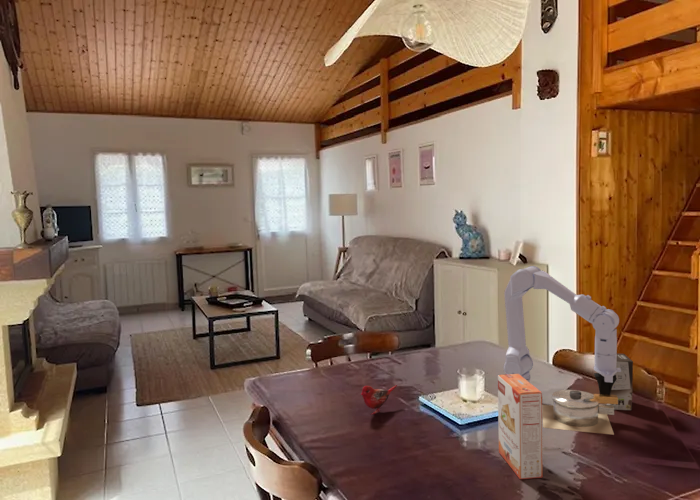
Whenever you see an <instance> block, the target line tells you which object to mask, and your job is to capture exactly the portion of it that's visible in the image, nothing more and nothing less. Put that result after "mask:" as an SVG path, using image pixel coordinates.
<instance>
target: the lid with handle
mask: <svg viewBox="0 0 700 500" xmlns="http://www.w3.org/2000/svg"><path fill="white" fill-rule="evenodd" d="M551 395H552V401H554V402H555V403H557V404H559V405H562V406H565V407H569V408H576V409H590V408H595V407H597V406H599V404H606V405H607V404H618V397H617V395H608V394H600V393H591V392H588V391H582V390H576V389H575V390H574V389H562V390H557V391H555V392H553V393H552V394H551Z"/></svg>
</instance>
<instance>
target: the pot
mask: <svg viewBox="0 0 700 500" xmlns="http://www.w3.org/2000/svg"><path fill="white" fill-rule="evenodd" d="M552 401H553V400H552ZM552 406H553V417H554V419H555V420H557V421H558V422H560V423H563V424H566V425H570V426H576V427H589V426H594V425H596V424H597V423H598V413H599V414H607V416H608V415H610V416H615V410H614V406H613V405H607V404H604V403H599V406H597V407H595V408H590V409H576V408H569V407H565V406H562V405H559V404H557V403H555V402H554V401H553V404H552Z"/></svg>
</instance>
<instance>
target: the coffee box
mask: <svg viewBox="0 0 700 500" xmlns="http://www.w3.org/2000/svg"><path fill="white" fill-rule="evenodd" d="M616 368H620V369H621V372H616V374H615V375H616V378H617V379H616V381H615V383H614V384H613V386H612V389H611V394H610V395H617V397H618V404H606V405H613V406H614V411H617V410H619V411H632V410H633V382H634V381H633V380H634V379H633V375H634V373H633V372H634V371H633V370H634V361H633V360H632V359H630V358H629V357H628V356H627V355H626V354H625V353H617V362H616Z"/></svg>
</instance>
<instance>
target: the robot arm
mask: <svg viewBox="0 0 700 500" xmlns="http://www.w3.org/2000/svg"><path fill="white" fill-rule="evenodd" d="M509 278H510V279H509V281H508V283H507V286H506V287H505V290H504V293H503V294H504V307H505V316H506V317H505V319H506V320H505V321H506V330H507V344H508V346H507V347H508V348H507V350H506V353H505V361H504V364H503V372H504V373H505V374H519V375H521V376H522V377H523V378H524V379H526V380H527V381H528V382H529V383H531V373H530V372H531V370H533V366H534V360H533V359H532V357H531V354H530V350H529V348H528V346H527V343H526V331H525V330H526V329H525V316H524V303H523V296H524V295H525V294H526V293H528V291H530V290H531V289H533V290H546V291H548V292H550V293H551V294H553V295H554V296H556V297H558V298H560V299H561V300H563V301H565V302H566V303H568V304H569V306H570V307H569V308H570V310H571V311H572V312H574V313H575V314H577V315H578V316H579V317H581V318H582V319H584V320H585V321H587V322H588V323H590V324H591V325H592V327H593V329H594V330H595V336H594V366H593V371H595V372H594V373H593V375H594V377H595V380H596V383H597V386H598V390H599V393H598V394H608V395H610V394H611V389H612V386H613V384H614V383H615V381H616V379H617V378H616V375H615V374H616V372H621V369H620V368H616V362H617V354H618V352H617V351H618V348H617V347H618V346H617V345H618V336H617V334H618V333H617V331H618V330H617V327H618V326H619V323H620V317H619V315H618V314H617V313H616V312H615V311H614V310H613V309H609V308H608V309H607V307H606V306H605V305H602V306H601V305H600V304H598V303H597V302H595V301H594V300H592V296H591V295H589V294H587V295H585V294H584V293H583V294H576V293H574V292H573V291H572V290H571V289H569V288H568V287H566V286H565V285H564V284H562V283H561V282H559V281H558V280H557V279H556V278H554V277H553V276H551V275H550V274H549V273H548V272H547V271H545V270H541V268H539V267H538V266H535V265H530V266H528V267H525V268H520V269H517V270H516V271H515V272H513V274H511V275H510V277H509Z"/></svg>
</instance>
